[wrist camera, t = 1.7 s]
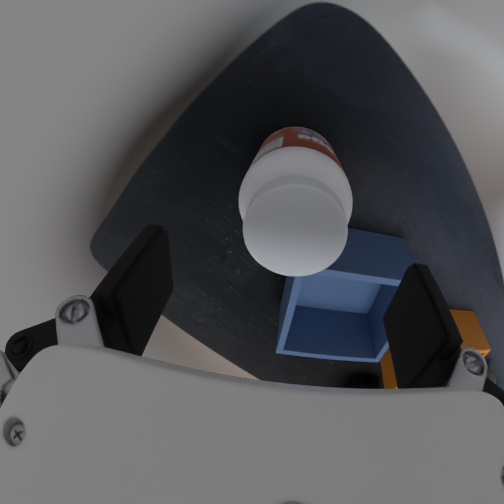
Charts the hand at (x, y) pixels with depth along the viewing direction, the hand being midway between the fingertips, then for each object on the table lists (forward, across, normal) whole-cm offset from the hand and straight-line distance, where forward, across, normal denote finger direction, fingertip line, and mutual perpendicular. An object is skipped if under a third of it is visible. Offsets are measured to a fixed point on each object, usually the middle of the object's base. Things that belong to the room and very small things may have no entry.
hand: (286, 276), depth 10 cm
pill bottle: (+14, 0, 0) cm, 14 cm away
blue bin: (+14, -6, +10) cm, 18 cm away
